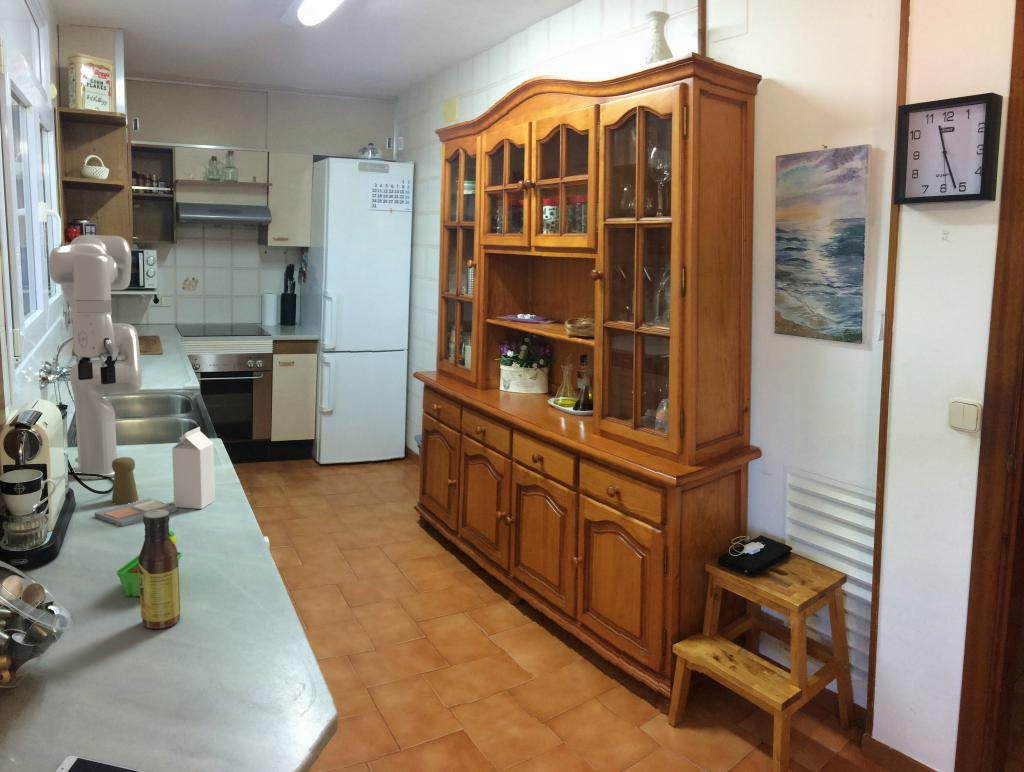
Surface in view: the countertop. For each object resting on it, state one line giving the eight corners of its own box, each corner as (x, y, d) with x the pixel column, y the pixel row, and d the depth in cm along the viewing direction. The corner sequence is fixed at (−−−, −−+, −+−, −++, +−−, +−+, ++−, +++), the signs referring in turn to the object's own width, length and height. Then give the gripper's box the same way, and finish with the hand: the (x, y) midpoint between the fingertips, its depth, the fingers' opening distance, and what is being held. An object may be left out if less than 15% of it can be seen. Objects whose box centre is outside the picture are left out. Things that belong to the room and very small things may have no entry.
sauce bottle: (149, 614, 140) (144, 505, 137) (186, 614, 141) (182, 505, 138) (135, 632, 134) (129, 518, 131) (173, 632, 134) (169, 518, 131)
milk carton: (215, 501, 203) (213, 427, 199) (201, 509, 196) (199, 433, 192) (188, 499, 203) (186, 425, 200) (174, 507, 196) (171, 432, 193)
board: (94, 516, 188) (94, 511, 188) (149, 502, 200) (149, 497, 199) (122, 526, 182) (122, 521, 182) (176, 511, 194) (176, 506, 194)
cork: (144, 499, 202) (142, 456, 200) (125, 506, 196) (123, 462, 194) (125, 496, 204) (123, 454, 202) (106, 502, 198) (103, 459, 196)
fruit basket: (145, 574, 157) (143, 519, 155) (190, 576, 157) (188, 521, 155) (115, 599, 146) (112, 540, 144) (163, 601, 146) (161, 542, 144)
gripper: (57, 306, 186) (61, 379, 189) (97, 310, 177) (101, 387, 179) (89, 305, 193) (92, 376, 195) (130, 309, 183) (133, 383, 186)
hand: (97, 381), depth 187 cm, fingers open, 9 cm apart
